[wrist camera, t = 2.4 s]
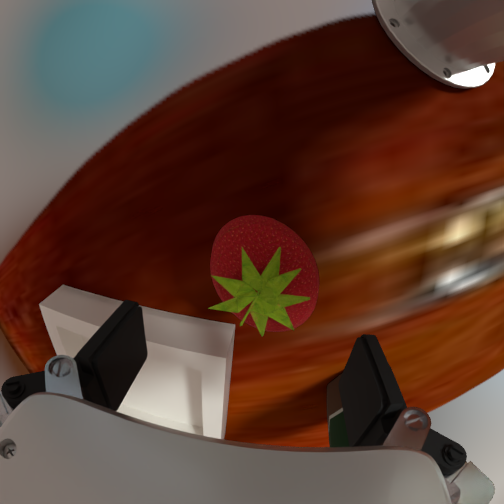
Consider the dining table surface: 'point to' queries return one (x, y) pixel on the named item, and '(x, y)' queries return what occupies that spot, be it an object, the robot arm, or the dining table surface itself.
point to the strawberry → (264, 273)
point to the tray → (156, 360)
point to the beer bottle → (336, 416)
